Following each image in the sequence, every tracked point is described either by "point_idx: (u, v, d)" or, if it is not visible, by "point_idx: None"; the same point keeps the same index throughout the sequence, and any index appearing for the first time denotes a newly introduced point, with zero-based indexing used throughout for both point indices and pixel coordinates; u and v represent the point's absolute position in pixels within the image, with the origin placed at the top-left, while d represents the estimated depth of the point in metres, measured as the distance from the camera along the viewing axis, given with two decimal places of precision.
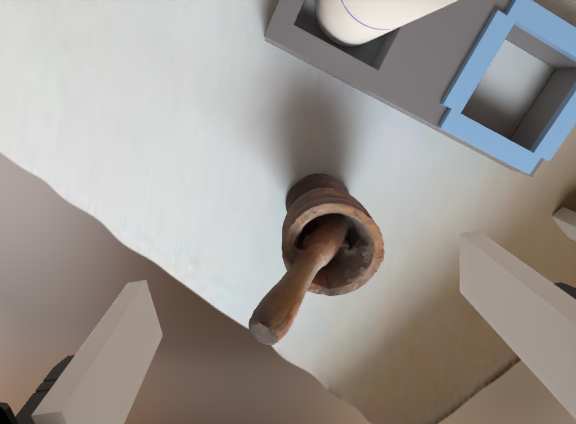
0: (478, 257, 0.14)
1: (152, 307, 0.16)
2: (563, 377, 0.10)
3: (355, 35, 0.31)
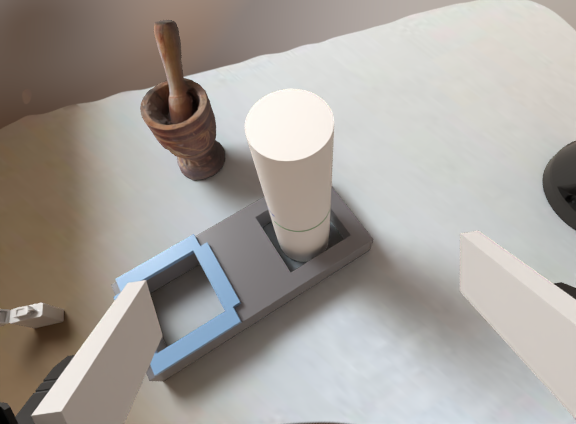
0: (479, 257, 0.14)
1: (152, 307, 0.16)
2: (563, 377, 0.10)
3: None
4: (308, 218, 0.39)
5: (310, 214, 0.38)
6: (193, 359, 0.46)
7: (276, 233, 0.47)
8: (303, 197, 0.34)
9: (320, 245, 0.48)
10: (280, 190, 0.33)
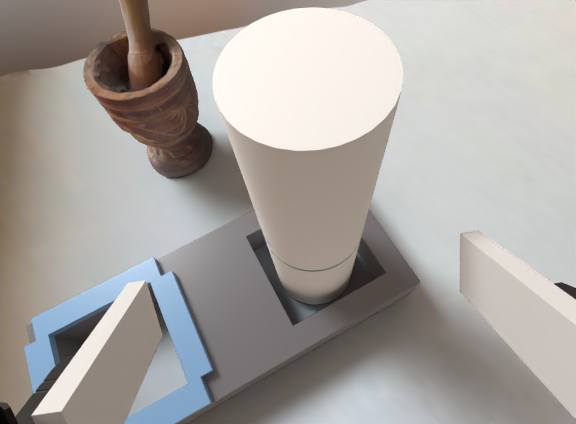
0: (479, 257, 0.14)
1: (152, 307, 0.16)
2: (563, 377, 0.10)
3: None
4: (328, 254, 0.23)
5: (333, 248, 0.22)
6: None
7: None
8: (324, 223, 0.18)
9: (339, 285, 0.32)
10: (281, 208, 0.17)
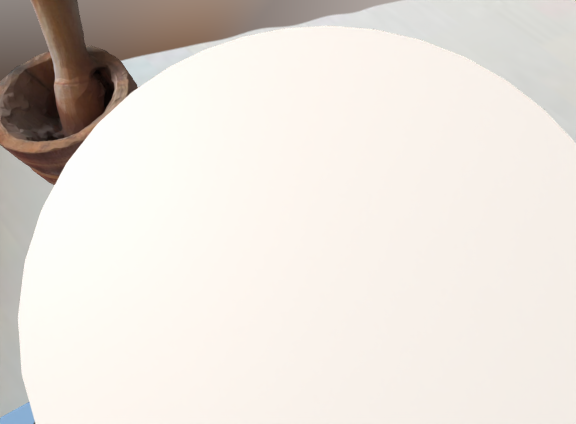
0: None
1: None
2: None
3: None
4: None
5: None
6: None
7: None
8: None
9: None
10: None
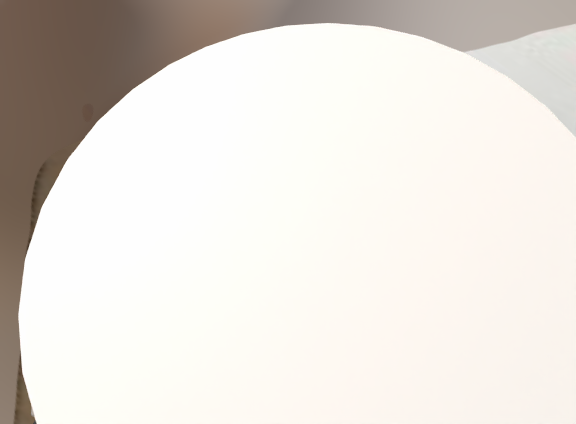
0: None
1: None
2: None
3: None
4: None
5: None
6: None
7: None
8: None
9: None
10: None
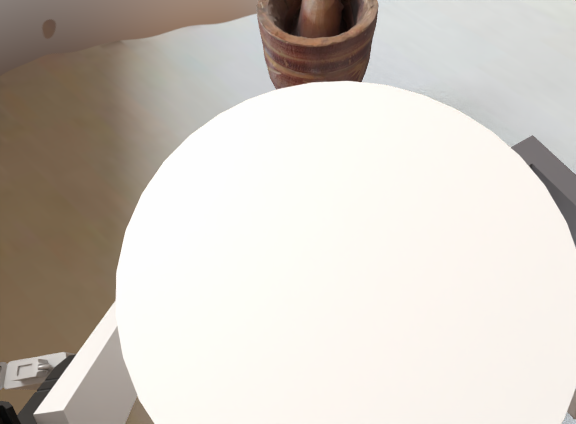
0: None
1: None
2: None
3: None
4: None
5: None
6: None
7: None
8: None
9: None
10: None
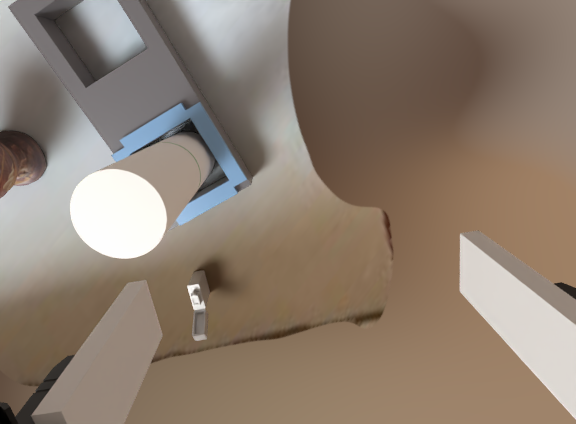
0: (479, 257, 0.14)
1: (152, 307, 0.16)
2: (563, 377, 0.10)
3: None
4: (193, 171, 0.39)
5: (190, 171, 0.38)
6: (234, 150, 0.51)
7: None
8: (183, 185, 0.34)
9: (203, 146, 0.48)
10: (179, 211, 0.34)
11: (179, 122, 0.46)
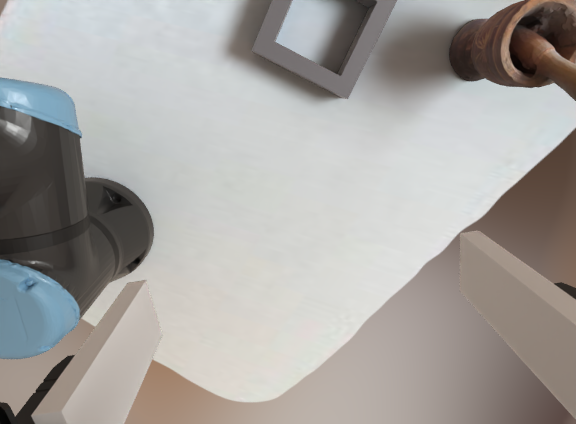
0: (478, 257, 0.14)
1: (152, 307, 0.16)
2: (563, 377, 0.10)
3: None
4: None
5: None
6: None
7: None
8: None
9: None
10: None
11: None
